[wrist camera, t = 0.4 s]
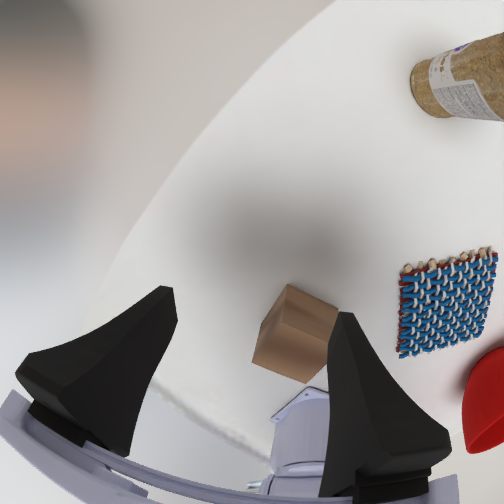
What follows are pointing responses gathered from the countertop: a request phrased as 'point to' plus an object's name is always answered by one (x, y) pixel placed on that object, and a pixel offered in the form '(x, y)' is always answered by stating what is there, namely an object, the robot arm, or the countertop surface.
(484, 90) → the sprinkles bottle
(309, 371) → the walnut block
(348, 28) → the countertop surface
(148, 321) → the robot arm
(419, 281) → the woven mat
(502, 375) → the ceramic cup
